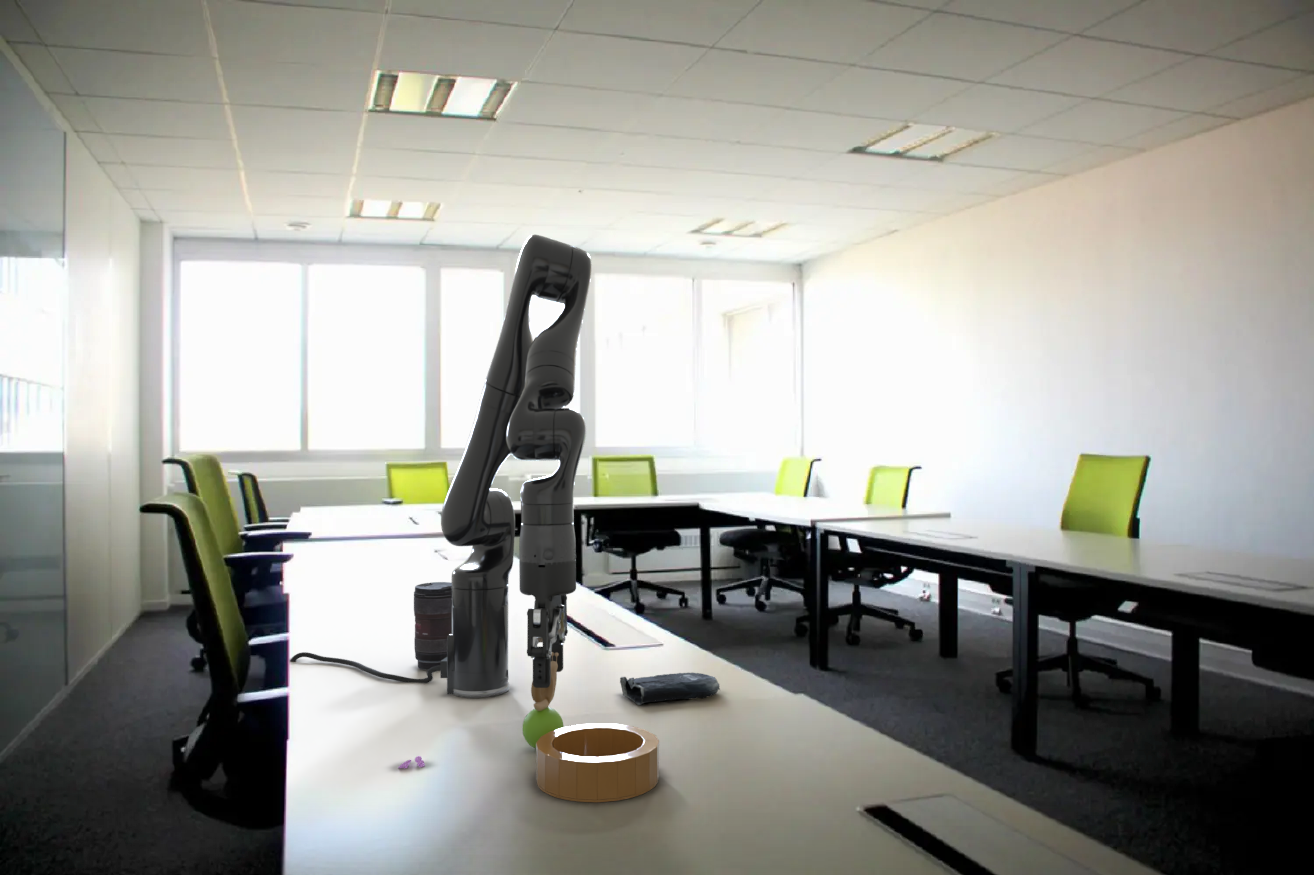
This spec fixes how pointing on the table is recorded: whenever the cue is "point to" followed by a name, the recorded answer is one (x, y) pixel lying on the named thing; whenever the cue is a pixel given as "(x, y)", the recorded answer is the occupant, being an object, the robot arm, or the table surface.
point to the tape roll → (597, 762)
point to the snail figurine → (542, 711)
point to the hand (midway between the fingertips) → (548, 679)
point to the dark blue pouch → (669, 687)
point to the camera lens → (432, 622)
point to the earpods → (417, 759)
